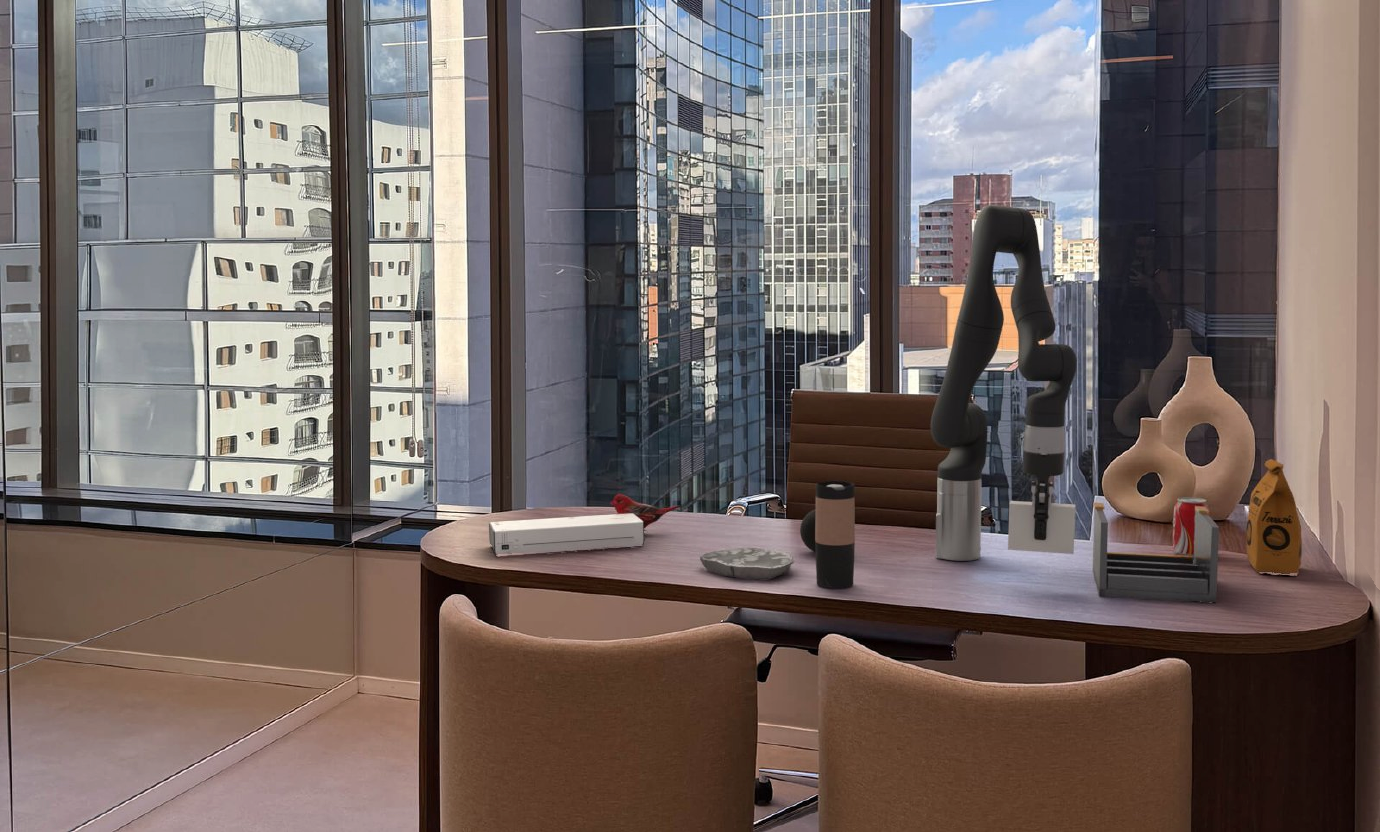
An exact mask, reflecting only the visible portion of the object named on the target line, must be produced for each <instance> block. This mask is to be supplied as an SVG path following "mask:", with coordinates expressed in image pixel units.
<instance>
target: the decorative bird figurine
mask: <svg viewBox="0 0 1380 832" xmlns="http://www.w3.org/2000/svg"><path fill="white" fill-rule="evenodd" d="M609 505H613V506H614V509H615V511H616V512H617V514H629V513H634V514H635V515H636V516H638V517H639V518H640V519H641V520H642V521H644V531H647V530H646V528H647V527H648V526H649V525H651V524H654V523H656V522H658V521H659V520H660V519H661V518H662V517H663V516H664V515H665V514H667V513H670V512H671V511H673V510H676V509H679V508H680V507H681V505H675V506H671V507H666V508H659V507H656V506H653V505H650V504H646V503H640V502H636V501H634V500H632V499H631V498H630V497H629V496H627V495H625V494H622V493H618V494H616V495H615V496H614V498H613V500H612V501H611V502H610V503H609Z"/></svg>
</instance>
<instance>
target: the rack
mask: <svg viewBox="0 0 1380 832" xmlns="http://www.w3.org/2000/svg"><path fill="white" fill-rule="evenodd" d="M1105 508H1106V507H1105V505H1104V502H1093V509H1094V510H1093V513H1094V514H1093V542H1092V543H1093V547H1092V548H1093V549H1092V550H1093V551H1092V552H1093V554H1092V574H1093V577H1094V581H1095V586H1096V591H1097V592H1098V593H1097V594H1098V597H1099V598H1100V597H1101V598H1103V597H1104V598H1105V597H1106V598H1117V597H1119V598H1121V599H1135V600H1136V599H1138V600H1151V601H1152V600H1153V601H1155V600H1156V601H1168V600H1169V601H1170V602H1174V601H1175V602H1185V601H1198V602H1197V603H1201V602H1216V603H1217V594H1218V590H1217V589H1218V566H1219V564H1218V563H1219V542H1220V540H1219V537H1220V526H1218V524H1217V523H1216V522H1215V521H1214V520H1213V518H1212V517H1211V516H1210V509H1209V510H1208V509H1207V508H1206V507H1201V506H1195V536H1194V557H1193V556H1186V555H1179V554H1164V553H1163V554H1162V553H1161V554H1160V553H1159V554H1158V553H1141V552H1140V553H1139V552H1122V551H1121V552H1120V551H1108V538H1109V537H1108V536H1109V535H1108V534H1109V533H1108V532H1109V521H1108V520H1107V516H1106V514H1105V511H1104V510H1105ZM1207 513H1209V515H1208V514H1207ZM1169 601H1168V602H1169ZM1199 601H1201V602H1199Z"/></svg>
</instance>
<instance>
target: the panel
mask: <svg viewBox="0 0 1380 832" xmlns="http://www.w3.org/2000/svg"><path fill="white" fill-rule="evenodd" d="M1037 513H1045V510H1037ZM1034 514H1035V509H1034V508H1033V507H1032V501H1018V500H1009V511H1008V535H1007V536H1008V539H1007V550H1010V551H1022V552H1023V551H1025V552H1039V553H1049V554H1050V553H1052V554H1068V555H1070V554H1071V555H1074V550H1075V531H1076V530H1075V527H1076V504H1074V503H1072V504H1070V503H1054V502H1051V508H1050V509H1048V515H1049V518H1048V521H1047V531H1046V539H1045V540H1036V539H1035V538H1034V528H1035V520H1034Z"/></svg>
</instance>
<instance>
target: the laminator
mask: <svg viewBox="0 0 1380 832" xmlns="http://www.w3.org/2000/svg"><path fill="white" fill-rule="evenodd" d="M488 530H489V531H488V532H489V533H488V535H489V536H488V537H489V545H490V544H491V545H492V546H491V545H490V546H491V547H492V550H493V551H494V555H495V556H496V555H498V554H506V553H507V554H512V553H525V552H552V551H564V550H575V549H588V548H602V547H614V546H638V545H643V546H644V543H645V533H644V530H645V528H644V521H642V520H641V519H640V518H639V517H638V516H636V515H635V514H634V513H629V514H618V513H617V514H615V513H614V514H602V515H601V514H599V515H598V514H597V515H583V516H581V515H580V516H566V517H552V518H549V517H548V518H536V519H521V520H519V519H518V520H507V521H505V520H504V521H489V522H488Z"/></svg>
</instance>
